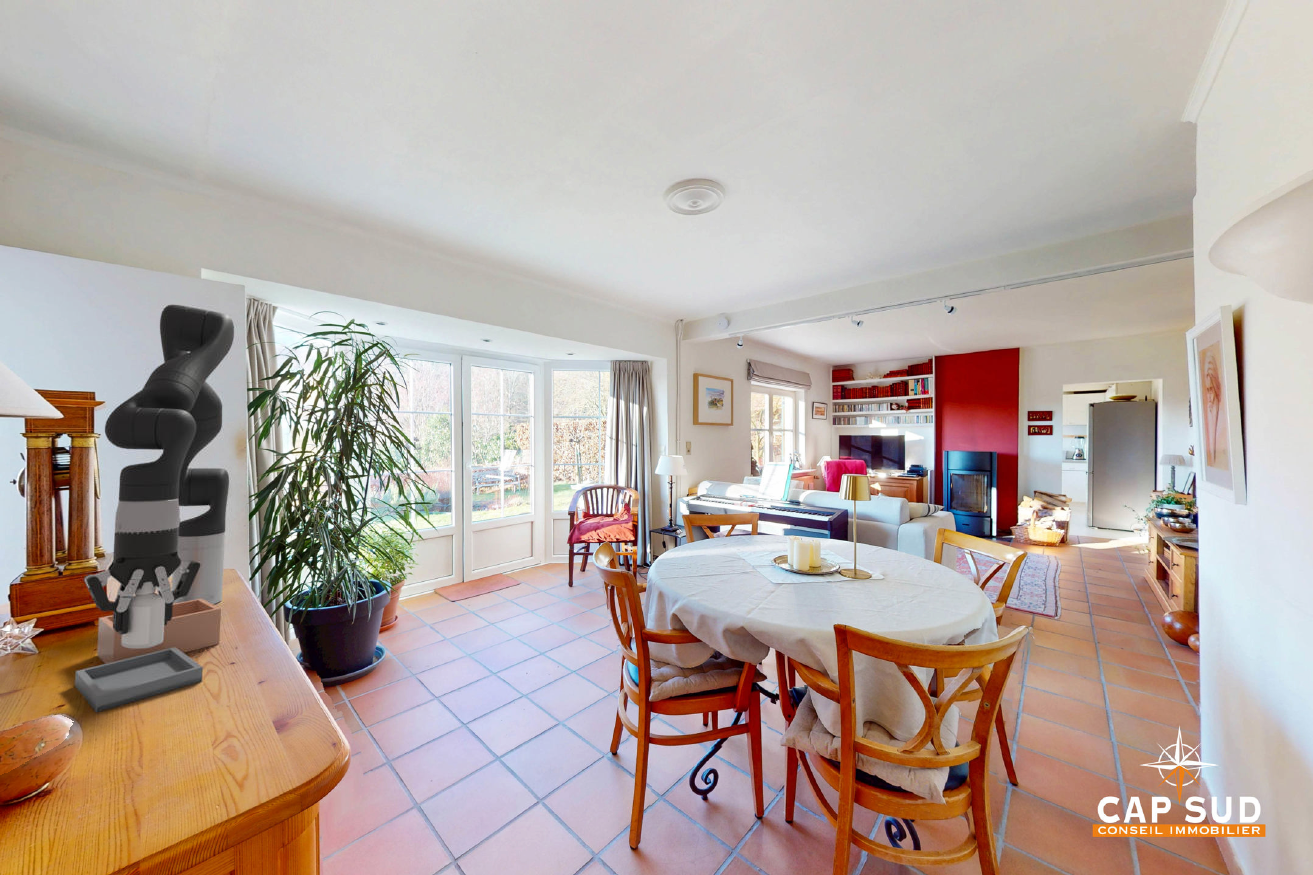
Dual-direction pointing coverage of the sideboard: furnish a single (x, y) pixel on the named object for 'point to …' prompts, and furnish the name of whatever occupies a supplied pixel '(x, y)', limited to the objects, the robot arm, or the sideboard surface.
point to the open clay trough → (167, 632)
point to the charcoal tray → (136, 678)
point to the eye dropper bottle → (145, 619)
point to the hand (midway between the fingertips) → (142, 628)
